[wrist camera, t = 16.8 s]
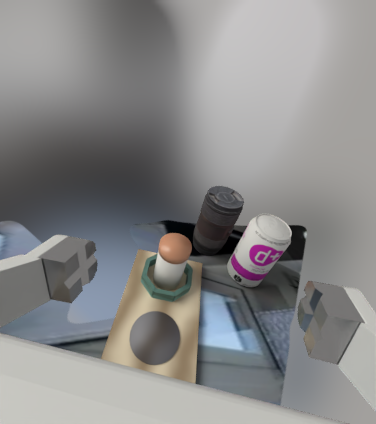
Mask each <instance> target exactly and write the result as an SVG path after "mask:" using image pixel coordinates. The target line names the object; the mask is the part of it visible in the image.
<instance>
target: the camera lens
mask: <svg viewBox="0 0 376 424" xmlns="http://www.w3.org/2000/svg"><path fill="white" fill-rule="evenodd" d="M243 203H244V201H243V198H242V197H241V195H240V194H239V193H237V192H236V191H234V190H233V189H230V188H228V187H223V186H215V187H212V188H210V189H209V190H208V193H207V194H206V196H205V199H204V202H203V205H202V208H201V213H200V216H199V219H198V222H197V224H196V227H195V229H194V234H193V245H194V247H195V249H196V250H197V251H198V252H200V253H202V254H204V255H214V254H216V253H217V252H218V251H219V250H221V249H222V247H223V245H224V244H225V243H226V241H227V239H228V237H229V235H230V234H231V233H232V231H233V228H234V224H235V223H236V221H237V219H238V217H239V215H240V213H241V211H242V206H243Z"/></svg>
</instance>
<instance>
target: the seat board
mask: <svg viewBox="0 0 376 424" xmlns="http://www.w3.org/2000/svg"><path fill="white" fill-rule="evenodd" d="M157 255H158V253H154V252H149V251H145V250H140V249H139V250H138V253H137V255H136V258H135V261H134V264H133V267H132V270H131V273H130V276H129V279H128V282H127V285H126V288H125V291H124V293H123V296H122V299H121V302H120V305H119V308H118V311H117V314H116V317H115V320H114V322H113V325H112V328H111V331H110V334H109V337H108V340H107V343H106V346H105V349H104V352H103V354H102V357H101V359H102V360H106V361H110V362H114V363H117V364H121V365H125V366H129V367H133V368H137V369H141V370H144V371H148V372H152V373H156V374H160V375H164V376H168V377H171V378H175V379H179V380H183V381H187V382H191V383H195V382H196V364H197V346H198V328H199V310H200V292H201V274H202V263H198V262H194V261H189V260H187V263H186V266H185V269H184V272H183V275H182V277H181V280H180V283H179V285H178V286H177V287H176V288H175V289H173V290H169V291H167V290H162V289H160V288H158V287H157V286H156V285H155V283H154V281H153V274H154V269H155V264H156V260H157Z"/></svg>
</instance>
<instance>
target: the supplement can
mask: <svg viewBox="0 0 376 424" xmlns="http://www.w3.org/2000/svg"><path fill="white" fill-rule="evenodd" d="M291 234H292V232H291V229H290V227H289V226H288V225H287V224H286V223H285V222H284V221H283V220H281V219H280V218H278V217H276V216H274V215H271V214H260V215H258V216H257V217H255V218H254V219H252V220H251V221H250V223H249V225H248V226H247V228H246V230H245V232H244V234H243V235H242V237H241V239H240V241H239V243H238V245H237V246H236V248H235V250H234V252H233V254H232V255H231V257H230V259H229V261H228V264H227V269H228V272H229V274H230V276H231V277H232V278H233V279H234V280H235V281H236V282H237V283H239V284H240V285H243V286H246V287H255V286H257V285H259V284H260V282H261V281H262V280H263V279H264V277H265V276H266V275H267V273H268V272H269V271H270V269H271V268H272V267H273V266H274V264H275V263H276V262H277V260H278V259H279V258H280V256H281V255H282V254H283V252H284V251H285V250H286V248H287V247H288V246H289V245H290V242H291Z"/></svg>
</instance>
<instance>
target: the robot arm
mask: <svg viewBox="0 0 376 424" xmlns="http://www.w3.org/2000/svg"><path fill="white" fill-rule="evenodd" d="M95 251H96V247H95V243H94V242H93V241H90V240H85V239H80V238H75V237H69V236H64V235H55V236H53V237H52V238H50V239H49V240H47V241H46V242H44V243H43V244H41V245H40V246H38V247H36V248H35V249H33V250H32V251H30V252H29V253H27V254H26V255H18V256H14V257H11V258H7V259H3V260H0V328H1V327H2V326H4V325H6V324H8V323H10V322H12V321H13V320H15V319H17V318H19V317H21V316H23V315H24V314H26V313H28V312H30V311H32V310H33V309H35V308H37V307H39V306H41V305H43V304H44V303H46V302H48V301H50V299H52V300H57V301H62V302H68V303H72V302H73V301H74V300H75V299H76V297H77V296H78V295H79V294H80V293H81V292H82V286H83V285H85V284H87V283H90V281H91V280H92V279H93V278H94V276H95V273H96V271H97V259H96V258H95V257H94V255H93V254H94V253H95ZM304 291H305V293H306V296H305V297H304V298H302V299H301V300H300V303H299V306H298V321H299V325H300V328H301V329H302V330H303V331H304V332H305V336H304V342H305V345H306V349H307V352H308V355H309V357H310V358H314V359H318V360H322V361H325V362H330V363H333V364H337V365H338V367H339V368H340V369H341V371H342V372H343V373H344V374H345V375H346V377H347V378H348V379H349V380H350V381H351V383H352V384H353V385H354V386H355V387H356V389H357V390H358V391H359V392H360V393H361V394H362V396H363V397H364V398H365V399H366V401H367V402H368V403H369V404H370V405H371V406H372V408H373V409H374V410H375V411H376V313H375V311H374V310H373V309H372V307H371V306H370V304H369V303H368V301H367V300H366V299H365V297H364V296H363V294H362V293H361V291H360V290H358V289H356V288H351V287H344V286H335V285H330V284H324V283H318V282H312V281H308V283H307V284H306V286H305V289H304ZM0 424H348V423H344V422H340V421H336V420H333V419H329V418H325V417H321V416H317V415H314V414H310V413H306V412H302V411H298V410H295V409H290V408H287V407H283V406H279V405H275V404H271V403H268V402H264V401H260V400H256V399H252V398H248V397H245V396H241V395H237V394H233V393H229V392H225V391H221V390H218V389H214V388H210V387H206V386H202V385H198V384H195V383H191V382H187V381H183V380H179V379H175V378H171V377H168V376H164V375H160V374H156V373H152V372H148V371H144V370H141V369H137V368H133V367H129V366H125V365H121V364H117V363H114V362H110V361H106V360H102V359H98V358H94V357H91V356H87V355H83V354H79V353H75V352H72V351H68V350H64V349H60V348H56V347H52V346H49V345H45V344H41V343H37V342H33V341H29V340H26V339H22V338H18V337H14V336H10V335H6V334H2V333H0Z"/></svg>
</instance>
